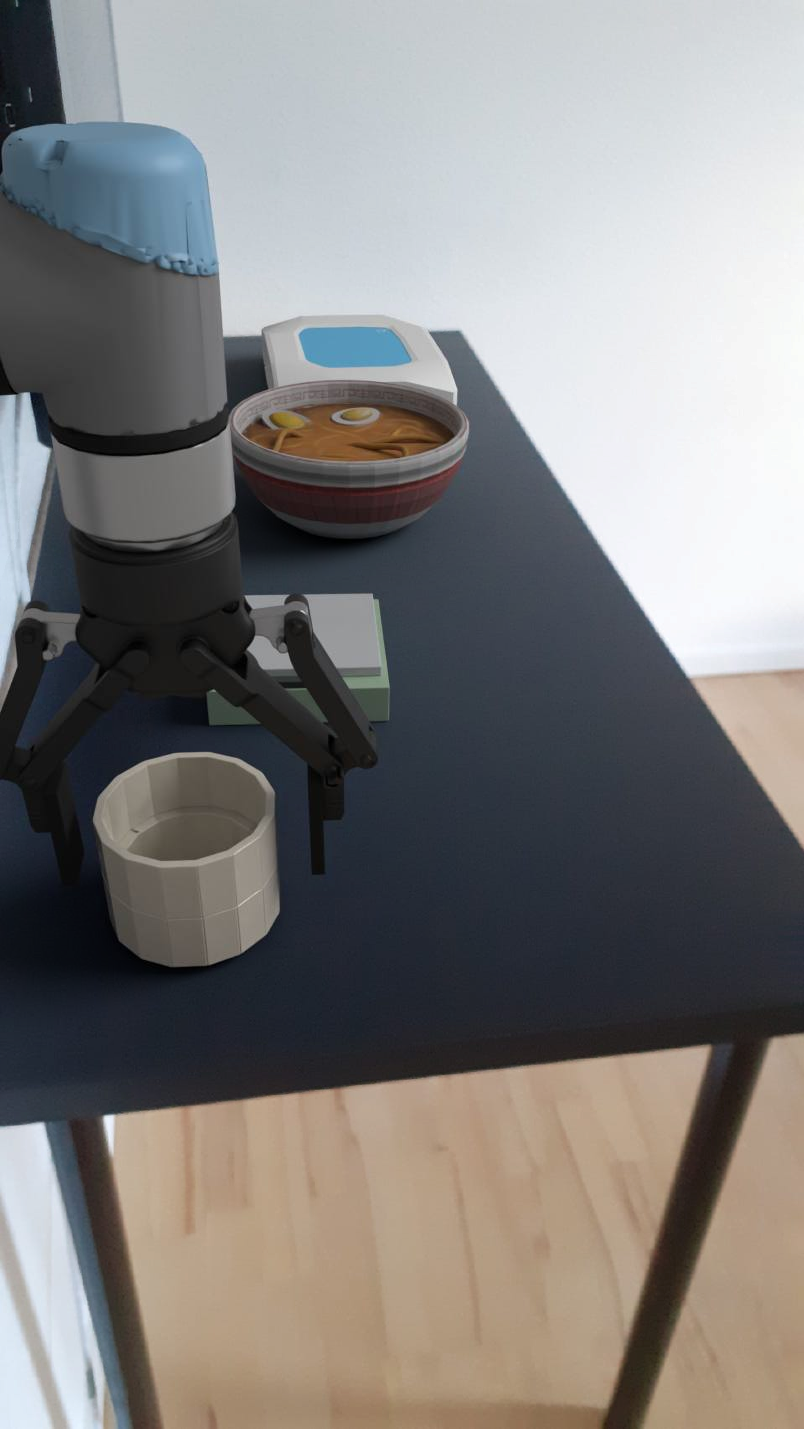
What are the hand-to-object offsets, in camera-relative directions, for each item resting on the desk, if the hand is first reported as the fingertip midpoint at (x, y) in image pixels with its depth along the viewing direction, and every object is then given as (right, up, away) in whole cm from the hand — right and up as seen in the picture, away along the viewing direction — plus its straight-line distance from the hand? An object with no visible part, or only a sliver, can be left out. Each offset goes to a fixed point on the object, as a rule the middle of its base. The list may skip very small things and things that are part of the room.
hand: (197, 864), depth 61 cm
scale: (+4, +11, +23) cm, 26 cm away
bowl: (+6, +28, +47) cm, 55 cm away
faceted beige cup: (0, -3, +2) cm, 4 cm away
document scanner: (+5, +49, +76) cm, 91 cm away
